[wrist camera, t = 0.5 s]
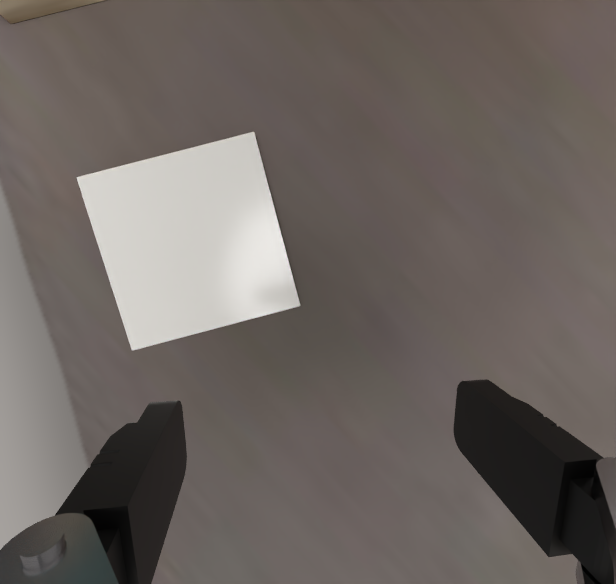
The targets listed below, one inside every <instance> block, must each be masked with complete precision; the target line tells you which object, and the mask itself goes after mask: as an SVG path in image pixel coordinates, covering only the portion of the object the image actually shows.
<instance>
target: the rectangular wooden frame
mask: <svg viewBox="0 0 616 584" xmlns="http://www.w3.org/2000/svg"><path fill="white" fill-rule="evenodd" d="M101 1H105V0H0V15H1V16H2V17H3V18H5V19H6V20H7V21H8V22H9V23H11V24H13V23H17V22H21V21H25V20H29V19H33V18H37V17H41V16H45V15H49V14H53V13H57V12H61V11H65V10H69V9H73V8H77V7H81V6H85V5H89V4H93V3H97V2H101Z"/></svg>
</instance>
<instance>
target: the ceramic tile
mask: <svg viewBox="0 0 616 584" xmlns="http://www.w3.org/2000/svg"><path fill="white" fill-rule="evenodd" d="M77 181H78V184H79V187H80V190H81V193H82V196H83V199H84V202H85V206H86V209H87V212H88V215H89V218H90V221H91V224H92V227H93V230H94V234H95V237H96V240H97V243H98V246H99V249H100V252H101V255H102V259H103V262H104V265H105V268H106V271H107V274H108V277H109V280H110V283H111V287H112V290H113V293H114V296H115V299H116V302H117V305H118V308H119V311H120V315H121V318H122V321H123V324H124V327H125V330H126V333H127V336H128V340H129V343H130V346H131V349H132V351H133V350H136V349H140V348H144V347H148V346H151V345H155V344H159V343H163V342H166V341H170V340H174V339H178V338H182V337H185V336H189V335H193V334H197V333H200V332H204V331H208V330H212V329H215V328H219V327H223V326H227V325H231V324H234V323H238V322H242V321H246V320H249V319H253V318H257V317H261V316H264V315H268V314H272V313H276V312H280V311H283V310H287V309H291V308H295V307H298V306H300V302H299V298H298V294H297V290H296V287H295V283H294V279H293V275H292V272H291V268H290V264H289V260H288V257H287V253H286V249H285V245H284V242H283V238H282V234H281V230H280V227H279V223H278V219H277V215H276V212H275V208H274V204H273V200H272V197H271V193H270V189H269V185H268V182H267V178H266V174H265V170H264V166H263V163H262V159H261V155H260V151H259V148H258V144H257V140H256V137H255V133H254V132H251V133H247V134H243V135H239V136H235V137H231V138H228V139H224V140H220V141H216V142H212V143H208V144H204V145H200V146H196V147H193V148H189V149H185V150H181V151H177V152H173V153H169V154H165V155H161V156H158V157H154V158H150V159H146V160H142V161H138V162H134V163H130V164H127V165H123V166H119V167H115V168H111V169H107V170H103V171H99V172H95V173H92V174H88V175H84V176H80V177H77Z"/></svg>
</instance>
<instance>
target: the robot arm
mask: <svg viewBox="0 0 616 584" xmlns="http://www.w3.org/2000/svg"><path fill="white" fill-rule="evenodd" d="M454 437H455V440H456V443H457V446H458V448H459V450H460V451H461V452H462V454H463V455H464V456H465V457H466V458H467V460H468V461H469V462H470V463H471V464H472V466H473V467H474V468H475V469H476V470H477V472H478V473H479V474H480V475H481V476H482V478H483V479H484V480H485V481H486V482H487V484H488V485H489V486H490V487H491V488H492V490H493V491H494V492H495V493H496V494H497V496H498V497H499V498H500V499H501V500H502V502H503V503H504V504H505V505H506V506H507V508H508V509H509V510H510V511H511V512H512V514H513V515H514V516H515V517H516V518H517V520H518V521H519V522H520V523H521V524H522V526H523V527H524V528H525V529H526V530H527V532H528V533H529V534H530V535H531V536H532V538H533V539H534V540H535V541H536V542H537V544H538V545H539V546H540V547H541V548H542V550H543V551H544V552H545V553H546V554H547V556H548V557H553V556H560V555H567V554H573V555H574V556H575V557H576V558H577V559H578V562H577V568H576V579H577V584H616V457H607V458H603V457H602V456H600V455H599V454H598V453H596V452H595V451H593V450H592V449H591V448H589V447H588V446H586V445H585V444H584V443H582V442H581V441H579V440H578V439H577V438H575V437H574V436H572V435H571V434H570V433H568V432H567V431H565V430H564V429H562V428H561V427H557V425H556V424H555V423H554V422H553V421H551V420H550V419H548V418H547V417H544V416H543V414H541V413H540V412H539V411H537V410H536V409H534V408H533V407H532V406H530V405H529V404H527V403H525V402H523V401H520V400H518V399H516V398H514V397H511V396H510V395H509V394H507V393H506V392H505V391H503V390H502V389H500V388H499V387H498V386H496V385H495V384H494V383H492V382H491V381H489V380H473V381H462V382H460V383H459V385H458V388H457V397H456V408H455V419H454ZM186 460H187V453H186V441H185V431H184V421H183V411H182V405H181V402H180V401H166V402H152V403H150V404H149V405H148V406H147V408H146V409H145V411H144V413H143V414H142V416H141V417H140V419H139V421H138V422H137V423H128V424H126V425H125V426H124V427H122V428H121V429H120V430H118V431H117V432H116V433H114V434H113V435H112V436H110V438H109V439H108V440H107V442H106V443H105V445H104V446H103V448H102V449H101V450H100V454H99V455H97V456H96V458H95V459H94V460H93V462H92V463H91V467H90V468H88V469H87V470H86V472H85V473H84V475H83V476H82V477H81V479H80V480H79V482H78V483H77V485H76V486H75V487H74V489H73V490H72V492H71V493H70V495H69V496H68V497H67V499H66V500H65V502H64V503H63V505H62V506H61V507H60V509H59V510H58V512H57V513H56V515H55V516H53V517H49V518H47V519H44V520H42V521H40V522H37V523H35V524H34V525H32V526H30V527H28V528H27V529H25V530H23V531H22V532H20V533H19V534H18V535H16V536H15V537H14V538H12V539H11V540H10V541H9V542H8V543H7V544H6V545H5V546H4V547H3V548H2V549H1V550H0V584H151V582H152V579H153V576H154V573H155V569H156V566H157V563H158V560H159V557H160V553H161V550H162V547H163V544H164V540H165V537H166V534H167V531H168V528H169V524H170V521H171V518H172V515H173V511H174V508H175V505H176V502H177V498H178V495H179V492H180V489H181V486H182V482H183V479H184V476H185V470H186Z"/></svg>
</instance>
